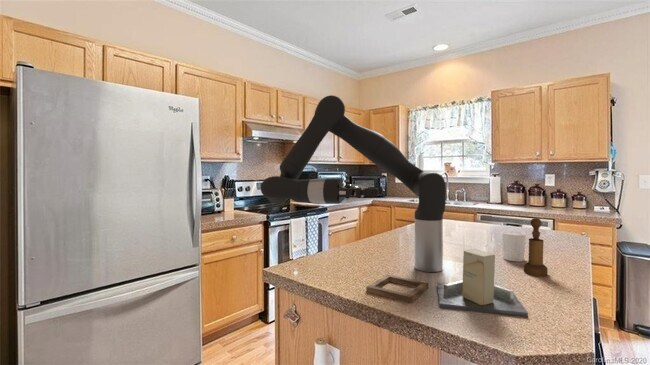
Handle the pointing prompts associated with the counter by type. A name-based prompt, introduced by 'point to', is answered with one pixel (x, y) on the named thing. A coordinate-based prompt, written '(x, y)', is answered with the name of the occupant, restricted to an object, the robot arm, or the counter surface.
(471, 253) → the skincare box
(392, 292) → the square wooden frame
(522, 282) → the counter surface
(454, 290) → the grey corner stand
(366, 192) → the robot arm
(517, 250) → the white cup
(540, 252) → the mortar and pestle
